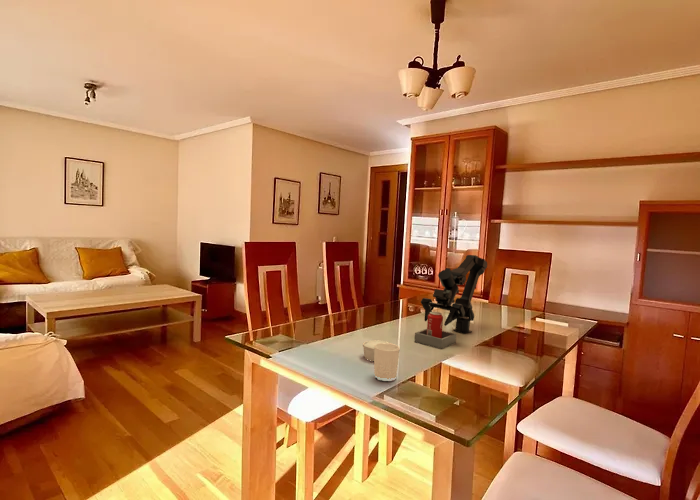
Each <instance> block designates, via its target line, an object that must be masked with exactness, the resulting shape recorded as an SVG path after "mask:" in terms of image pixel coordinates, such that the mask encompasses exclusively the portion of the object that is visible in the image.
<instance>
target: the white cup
mask: <svg viewBox="0 0 700 500" xmlns="http://www.w3.org/2000/svg"><path fill="white" fill-rule="evenodd" d="M390 343H391V342H389V343H378V344H376V345H375V346H374V362H373V363H374V364H373V366H374V367H373V369H374V372H373V373H374V374H375V376H377V377H380V378H387V379H389V378H390V379H391V378H395V377H396V378H397V372H398V365H399V358H400V350H401V348H400V346H399V345H397V344H394V343H392V344H390Z"/></svg>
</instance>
